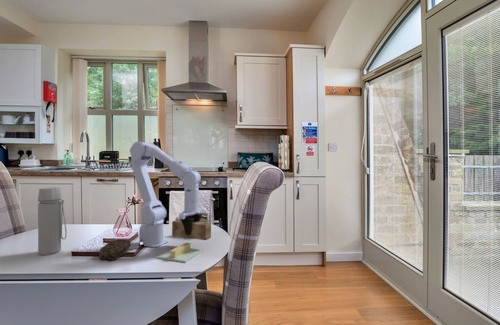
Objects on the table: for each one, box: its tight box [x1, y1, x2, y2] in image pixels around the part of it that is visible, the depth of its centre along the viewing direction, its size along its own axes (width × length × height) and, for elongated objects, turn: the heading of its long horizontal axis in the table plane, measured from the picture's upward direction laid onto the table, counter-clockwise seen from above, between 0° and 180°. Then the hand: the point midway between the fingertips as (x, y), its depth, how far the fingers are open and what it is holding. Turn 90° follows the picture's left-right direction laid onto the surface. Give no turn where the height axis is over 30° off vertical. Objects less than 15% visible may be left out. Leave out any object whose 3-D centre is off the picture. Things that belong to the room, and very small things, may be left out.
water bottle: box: [37, 186, 68, 256], centre depth 102 cm, size 9×8×25 cm
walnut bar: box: [171, 219, 212, 241], centre depth 109 cm, size 16×4×6 cm, turn 70°
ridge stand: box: [157, 242, 204, 263], centre depth 100 cm, size 12×12×3 cm
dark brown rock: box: [98, 238, 132, 262], centre depth 100 cm, size 12×10×5 cm
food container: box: [199, 212, 210, 223], centre depth 129 cm, size 12×6×10 cm, turn 74°
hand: (191, 232), depth 109 cm, fingers closed on walnut bar, 4 cm apart
